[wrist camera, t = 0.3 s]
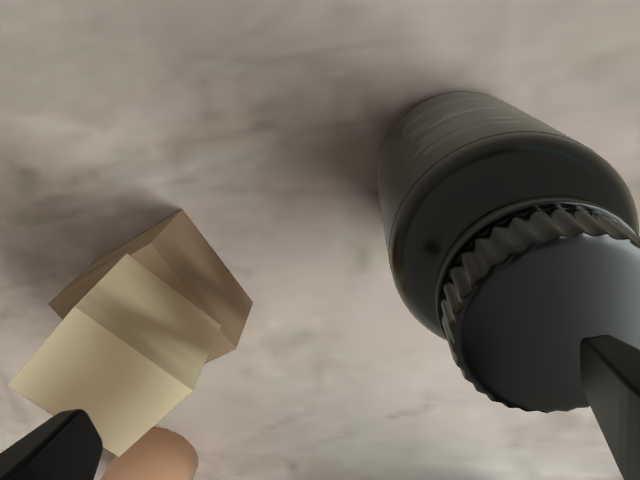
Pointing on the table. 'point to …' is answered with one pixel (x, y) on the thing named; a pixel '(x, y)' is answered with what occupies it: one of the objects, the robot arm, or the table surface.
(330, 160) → the table surface
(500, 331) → the supplement bottle
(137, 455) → the peach cylinder
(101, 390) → the oak block
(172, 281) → the walnut block
